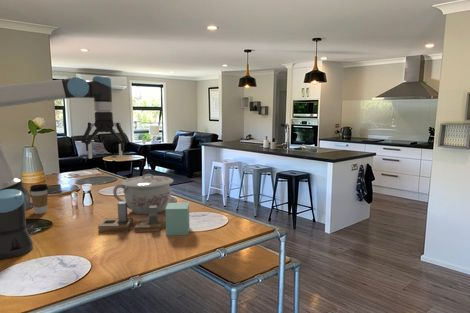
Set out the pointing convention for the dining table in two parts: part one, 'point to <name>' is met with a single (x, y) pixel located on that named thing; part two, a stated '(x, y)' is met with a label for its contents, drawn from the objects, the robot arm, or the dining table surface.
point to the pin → (122, 212)
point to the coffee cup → (39, 198)
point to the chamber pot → (145, 193)
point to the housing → (177, 219)
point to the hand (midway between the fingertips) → (105, 158)
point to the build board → (115, 225)
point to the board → (148, 227)
